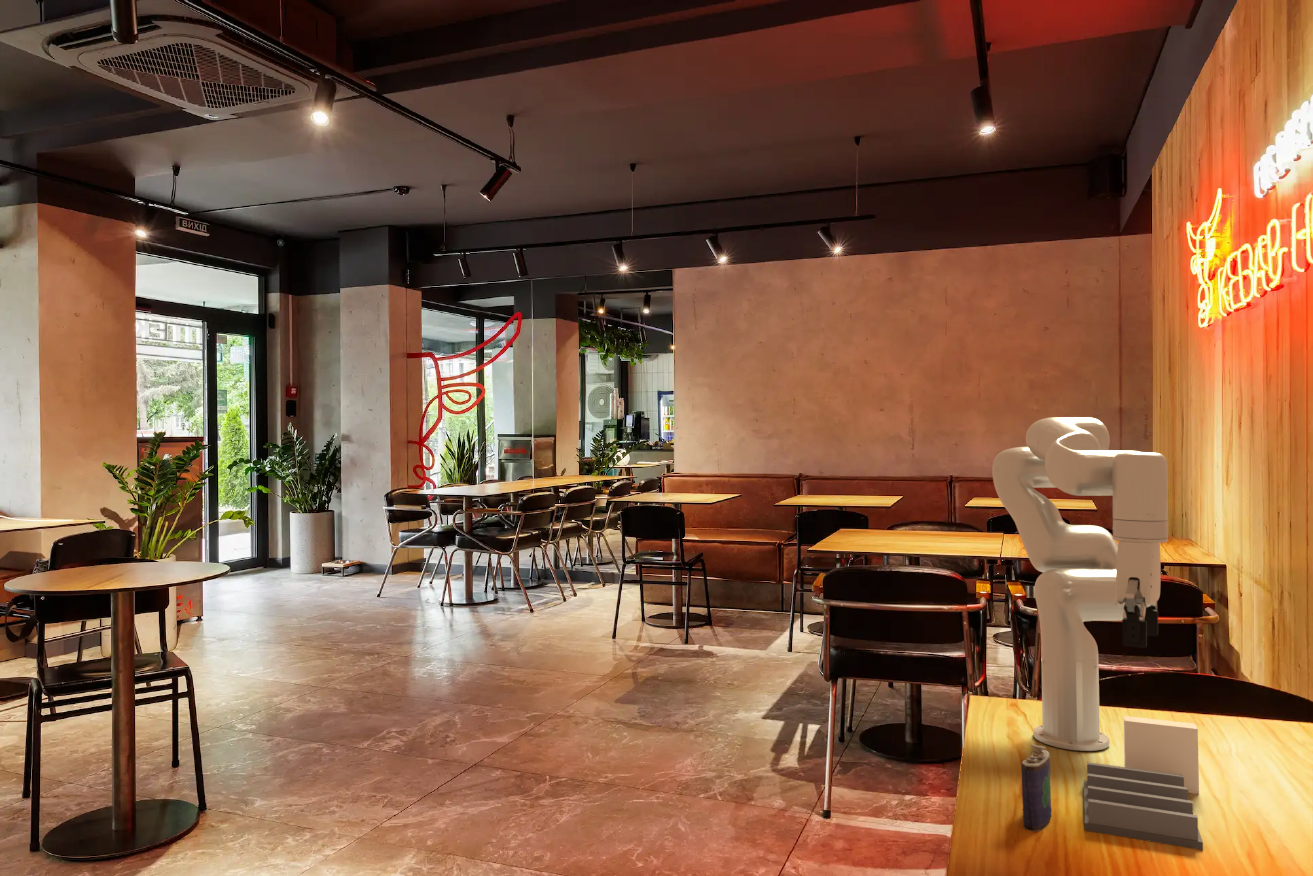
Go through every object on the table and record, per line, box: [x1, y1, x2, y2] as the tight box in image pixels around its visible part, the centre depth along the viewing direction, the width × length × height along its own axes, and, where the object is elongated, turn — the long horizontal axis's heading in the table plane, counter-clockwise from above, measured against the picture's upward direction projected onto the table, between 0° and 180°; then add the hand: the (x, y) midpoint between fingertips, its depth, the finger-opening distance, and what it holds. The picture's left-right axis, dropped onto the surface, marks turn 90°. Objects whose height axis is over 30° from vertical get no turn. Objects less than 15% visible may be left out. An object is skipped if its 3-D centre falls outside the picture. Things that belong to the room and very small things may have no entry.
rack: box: [1083, 761, 1204, 851], centre depth 125 cm, size 18×14×4 cm
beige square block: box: [1123, 715, 1200, 795], centre depth 137 cm, size 3×10×10 cm, turn 64°
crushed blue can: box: [1020, 743, 1053, 832], centre depth 123 cm, size 9×3×11 cm, turn 144°
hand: (1140, 640), depth 134 cm, fingers open, 9 cm apart
